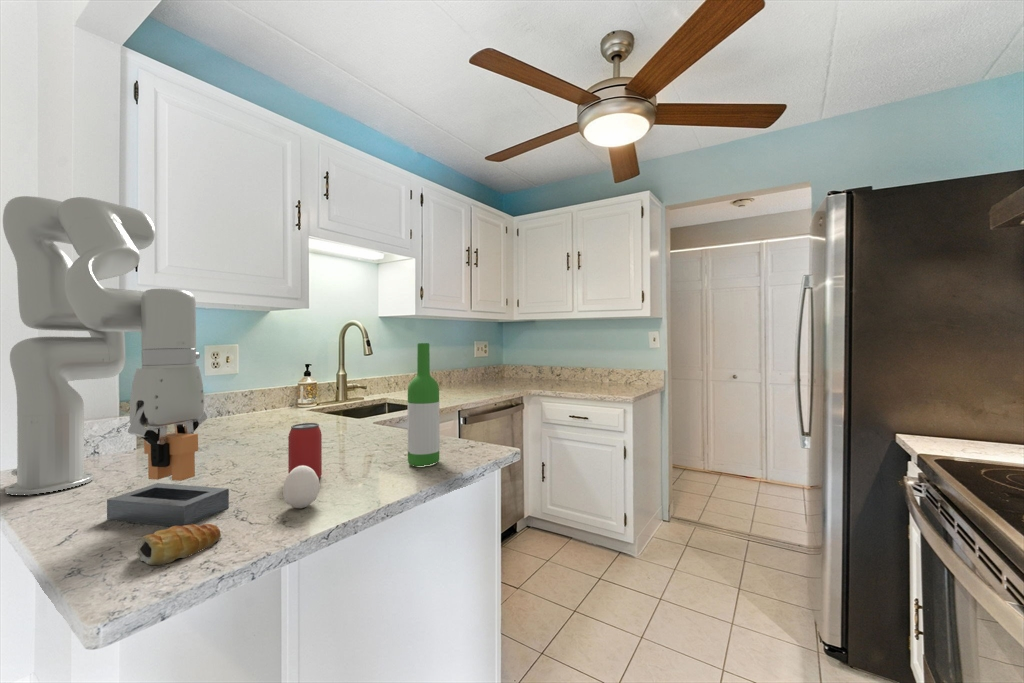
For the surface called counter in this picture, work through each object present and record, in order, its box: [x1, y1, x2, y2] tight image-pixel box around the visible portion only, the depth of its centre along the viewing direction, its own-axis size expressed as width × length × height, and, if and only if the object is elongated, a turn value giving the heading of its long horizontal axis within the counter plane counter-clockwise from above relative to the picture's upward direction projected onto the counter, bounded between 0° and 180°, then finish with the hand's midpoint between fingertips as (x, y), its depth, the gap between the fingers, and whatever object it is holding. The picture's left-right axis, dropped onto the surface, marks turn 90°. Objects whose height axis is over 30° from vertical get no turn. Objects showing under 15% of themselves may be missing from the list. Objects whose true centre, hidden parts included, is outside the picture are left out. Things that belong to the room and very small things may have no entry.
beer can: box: [287, 422, 323, 479], centre depth 93 cm, size 7×7×12 cm
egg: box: [282, 465, 321, 509], centre depth 77 cm, size 6×6×8 cm
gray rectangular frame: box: [106, 482, 230, 527], centre depth 75 cm, size 16×8×4 cm, turn 79°
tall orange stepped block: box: [143, 432, 199, 482], centre depth 74 cm, size 8×3×8 cm, turn 79°
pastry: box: [137, 523, 222, 566], centre depth 62 cm, size 9×7×4 cm
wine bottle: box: [407, 342, 441, 466], centre depth 105 cm, size 8×8×30 cm
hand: (171, 462), depth 74 cm, fingers closed on tall orange stepped block, 3 cm apart
